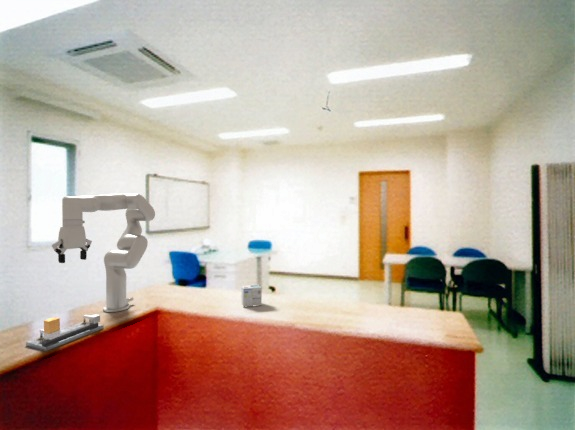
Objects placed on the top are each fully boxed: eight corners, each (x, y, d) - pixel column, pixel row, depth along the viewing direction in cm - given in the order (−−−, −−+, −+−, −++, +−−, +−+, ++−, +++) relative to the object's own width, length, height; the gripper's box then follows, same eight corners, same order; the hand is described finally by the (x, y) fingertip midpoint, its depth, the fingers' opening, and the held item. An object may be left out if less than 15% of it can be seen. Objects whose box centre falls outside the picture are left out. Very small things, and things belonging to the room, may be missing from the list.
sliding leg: (46, 335, 127) (45, 315, 127) (60, 338, 124) (60, 318, 124) (35, 339, 123) (35, 318, 123) (49, 342, 120) (49, 321, 120)
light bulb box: (259, 302, 181) (259, 284, 181) (261, 306, 175) (262, 287, 175) (241, 304, 178) (241, 285, 178) (243, 307, 171) (243, 288, 171)
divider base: (84, 324, 145) (84, 311, 144) (103, 328, 140) (103, 315, 140) (26, 345, 122) (25, 330, 122) (46, 351, 118) (45, 335, 118)
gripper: (85, 222, 150) (85, 257, 150) (46, 224, 133) (47, 263, 134) (96, 222, 147) (96, 258, 147) (58, 224, 131) (58, 265, 131)
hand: (73, 261), depth 141 cm, fingers open, 9 cm apart
